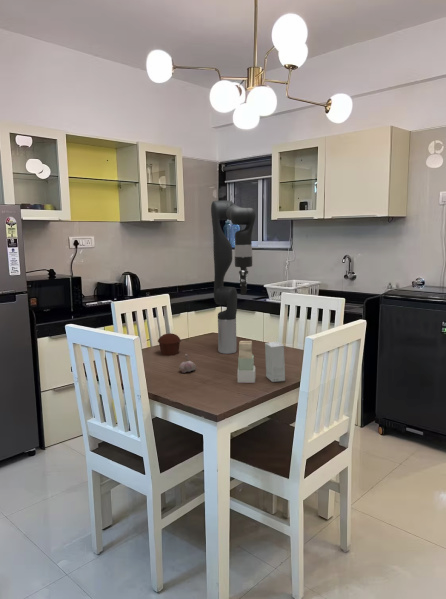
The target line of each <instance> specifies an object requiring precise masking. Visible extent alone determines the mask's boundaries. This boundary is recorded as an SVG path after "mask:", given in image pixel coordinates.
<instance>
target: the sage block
mask: <svg viewBox="0 0 446 599" xmlns="http://www.w3.org/2000/svg"><path fill="white" fill-rule="evenodd" d="M254 358H255V356H254V354H252V359H247V358H239V357H238V359H237V362H238V363H237V365H238V367H237V371H238V370H247V371H253V369H254V366H255V365H254V364H255V362H254V361H255V359H254Z"/></svg>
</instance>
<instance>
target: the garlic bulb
mask: <svg viewBox="0 0 446 599" xmlns="http://www.w3.org/2000/svg"><path fill="white" fill-rule="evenodd" d="M185 359H186V360H185V361H182V362H181V363H180V364H179V366H178V369H179V371H180V372H181V373H182V374H185V373H190V372H191V371H192V372H193V371H195V370H196V369H197V365H196V364H195V363H194V362H193V361H191V360H190V359H189V356H188V353H185Z"/></svg>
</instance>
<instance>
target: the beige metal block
mask: <svg viewBox="0 0 446 599" xmlns="http://www.w3.org/2000/svg"><path fill="white" fill-rule="evenodd" d="M252 355H253V341H252V340H239V343H238V358H247V359H252Z"/></svg>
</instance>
